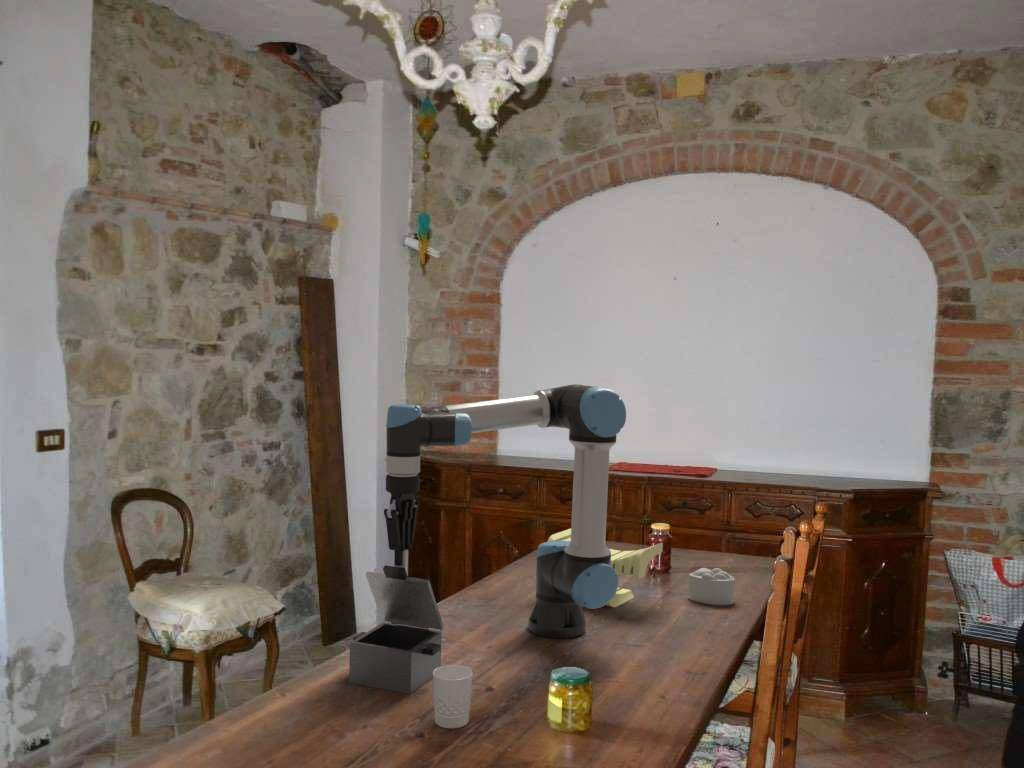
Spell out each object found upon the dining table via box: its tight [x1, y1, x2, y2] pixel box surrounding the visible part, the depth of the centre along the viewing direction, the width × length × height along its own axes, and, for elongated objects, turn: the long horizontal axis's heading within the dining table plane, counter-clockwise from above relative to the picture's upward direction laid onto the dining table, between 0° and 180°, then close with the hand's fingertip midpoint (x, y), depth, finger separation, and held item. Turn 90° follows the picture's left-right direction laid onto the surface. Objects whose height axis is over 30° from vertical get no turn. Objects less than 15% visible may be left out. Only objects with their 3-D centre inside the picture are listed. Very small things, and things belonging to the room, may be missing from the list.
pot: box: [348, 621, 443, 695], centre depth 199 cm, size 20×15×9 cm
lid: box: [365, 565, 445, 631], centre depth 201 cm, size 15×19×2 cm
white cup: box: [432, 664, 474, 729], centre depth 176 cm, size 8×8×10 cm
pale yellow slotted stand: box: [546, 527, 664, 608], centre depth 261 cm, size 30×16×18 cm, turn 57°
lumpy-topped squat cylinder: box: [687, 567, 736, 606], centre depth 264 cm, size 10×13×9 cm
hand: (400, 578), depth 199 cm, fingers closed
